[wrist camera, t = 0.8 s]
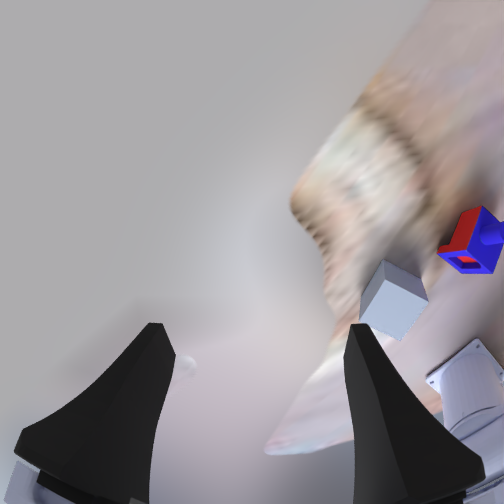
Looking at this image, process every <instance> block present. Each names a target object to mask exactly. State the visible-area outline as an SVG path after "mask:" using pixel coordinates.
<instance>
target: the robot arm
mask: <svg viewBox="0 0 504 504" xmlns="http://www.w3.org/2000/svg"><path fill="white" fill-rule="evenodd" d="M478 344H479V345H478ZM477 345H478V346H477ZM175 357H176V354H175V352H174V350H173V348H172V345H171V343H170V340H169V338H168V336H167V333H166V331H165V329H164V326H163V324H162V323H148V324H147V325H146V326H145V328H144V329H143V330H142V331H141V332H140V333H139V334H138V335H137V337H136V338H135V339H134V340H133V341H132V342H131V344H130V345H129V346H128V347H127V348H126V349H125V350H124V352H123V353H122V354H121V355H120V356H119V357H118V358H117V359H116V360H115V361H114V362H113V364H112V365H111V366H110V367H109V368H108V369H107V370H106V371H105V372H104V373H103V374H102V375H101V376H100V377H99V378H98V379H97V380H96V381H95V382H94V383H92V384H91V385H90V386H89V387H88V388H87V389H86V390H84V391H83V392H82V393H81V394H80V395H78V396H77V397H76V398H74V399H73V400H72V401H70V402H69V403H68V404H66V405H65V406H64V407H62V408H61V409H59V410H57V411H56V412H54V413H53V414H51V415H49V416H48V417H46V418H44V419H42V420H41V421H38V422H36V423H35V424H32V425H30V426H28V427H26V428H24V429H23V430H22V432H21V434H20V437H19V439H18V441H17V444H16V447H15V449H14V453H15V454H16V455H18V456H19V457H21V458H23V459H24V460H26V461H27V462H29V463H30V464H33V465H34V466H36V467H37V468H39V469H41V470H40V473H37V472H36V471H34V470H32V469H31V468H29V467H27V466H26V465H24V464H22V463H21V462H19V461H17V462H16V465H15V468H14V471H13V473H12V476H11V479H10V482H9V485H8V488H7V491H6V495H5V498H4V501H5V502H6V503H7V504H149V480H150V468H151V458H152V451H153V444H154V438H155V432H156V428H157V424H158V420H159V417H160V413H161V410H162V407H163V404H164V401H165V398H166V394H167V391H168V388H169V385H170V382H171V378H172V374H173V368H174V363H175ZM343 358H344V373H345V383H346V389H347V394H348V400H349V406H350V411H351V417H352V424H353V430H354V444H355V482H354V500H353V504H504V478H503V479H501V480H499V481H498V482H495V483H494V484H491V485H489V486H487V487H485V488H483V489H481V490H479V491H477V492H475V493H472V494H466V493H469V492H471V491H473V490H475V489H477V488H479V487H481V486H484V485H486V484H488V483H490V482H492V481H494V480H496V479H497V478H499V477H501V476H503V475H504V388H503V384H502V381H503V380H504V370H503V368H502V367H501V366H500V365H499V363H498V362H497V361H496V360H495V358H494V357H493V356H492V355H491V353H490V352H489V351H488V350H487V348H486V347H485V346H484V345H483V344H482V342H481V341H480V340H479V339H474V340H473V341H472V342H471V343H470V344H468V345H467V346H466V347H465V348H464V349H462V350H461V351H460V352H459V353H458V354H456V355H455V356H454V357H453V358H451V359H450V360H449V361H448V362H446V363H445V364H444V365H442V366H441V367H440V368H438V369H437V370H436V371H434V372H433V373H432V374H430V375H429V376H427V377H426V382H427V383H428V384H429V385H430V386H431V387H432V388H434V389H435V390H436V391H437V392H438V393H439V394H440V395H441V399H442V407H443V416H444V426H445V427H444V426H443V425H442V424H441V423H440V422H439V421H438V420H437V419H436V418H434V416H433V415H432V414H431V413H430V412H429V411H428V410H427V409H426V408H425V407H424V405H423V404H422V403H421V402H420V401H419V400H418V398H417V397H416V396H415V395H414V393H413V392H412V391H411V390H410V388H409V387H408V386H407V384H406V383H405V382H404V380H403V379H402V377H401V376H400V375H399V373H398V372H397V370H396V369H395V367H394V366H393V364H392V363H391V361H390V360H389V358H388V357H387V355H386V354H385V352H384V350H383V349H382V347H381V345H380V344H379V342H378V341H377V339H376V337H375V335H374V334H373V332H372V330H371V328H370V327H369V325H368V324H367V323H362V324H351V326H350V331H349V335H348V340H347V344H346V348H345V353H344V357H343ZM431 381H432V382H431Z"/></svg>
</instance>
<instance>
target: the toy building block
mask: <svg viewBox="0 0 504 504" xmlns="http://www.w3.org/2000/svg"><path fill="white" fill-rule="evenodd" d="M503 244H504V221H503V222H499V221H498V220H497V219H496V218H495V217H494V216H493V215H492V214H491V213H490V212H489V211H488V210H487V209H486V208H485V207H483V206H479V207H477V208H474V209H471V210H468V211H466V212H463V213H462V214H461V216H460V219H459V221H458V224H457V227H456V229H455V231H454V234H453V236H452V239H451V241H450V243H449V245H444V246H440V247H439V250H438V252H437V254H438V255H439V256H440V257H441V258H443V259H444V260H445V261H447V262H448V263H449V264H450V265H452V266H453V267H454V268H455V269H457V270H458V271H459V272H460V273H462V274H493V272H494V269H495V267H496V264H497V261H498V259H499V256H500V253H501V250H502V247H503Z"/></svg>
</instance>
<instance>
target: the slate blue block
mask: <svg viewBox="0 0 504 504" xmlns="http://www.w3.org/2000/svg"><path fill="white" fill-rule="evenodd" d="M428 302H429V301H428V298H427V295H426V292H425V289H424V286H423V283H422V280H421V279H420V278H418V277H416V276H414V275H412V274H410V273H408V272H407V271H405V270H403V269H401V268H399V267H397V266H395V265H393V264H391V263H389V262H387V261H385V260H384V259H383V260H382V262H381V263H380V265H379V267H378V269H377V271H376V272H375V274H374V276H373V278H372V279H371V281H370V283H369V284H368V286H367V288H366V289H365V291H364V293H363V294H362V296H361V303H360V314H359V322H361V323H367V324H368V325H369V326H370V327H372V328H374V329H376V330H378V331H380V332H382V333H384V334H387V335H389V336H391V337H393V338H395V339H397V340H399V341H401V340H402V338H403V337H404V336H405V334H406V333H407V332H408V330H409V329H410V328H411V326H412V325H413V324H414V322H415V321H416V320H417V318H418V317H419V315H420V314H421V312H422V311H423V310H424V308H425V307H426V305H427V304H428Z"/></svg>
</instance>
